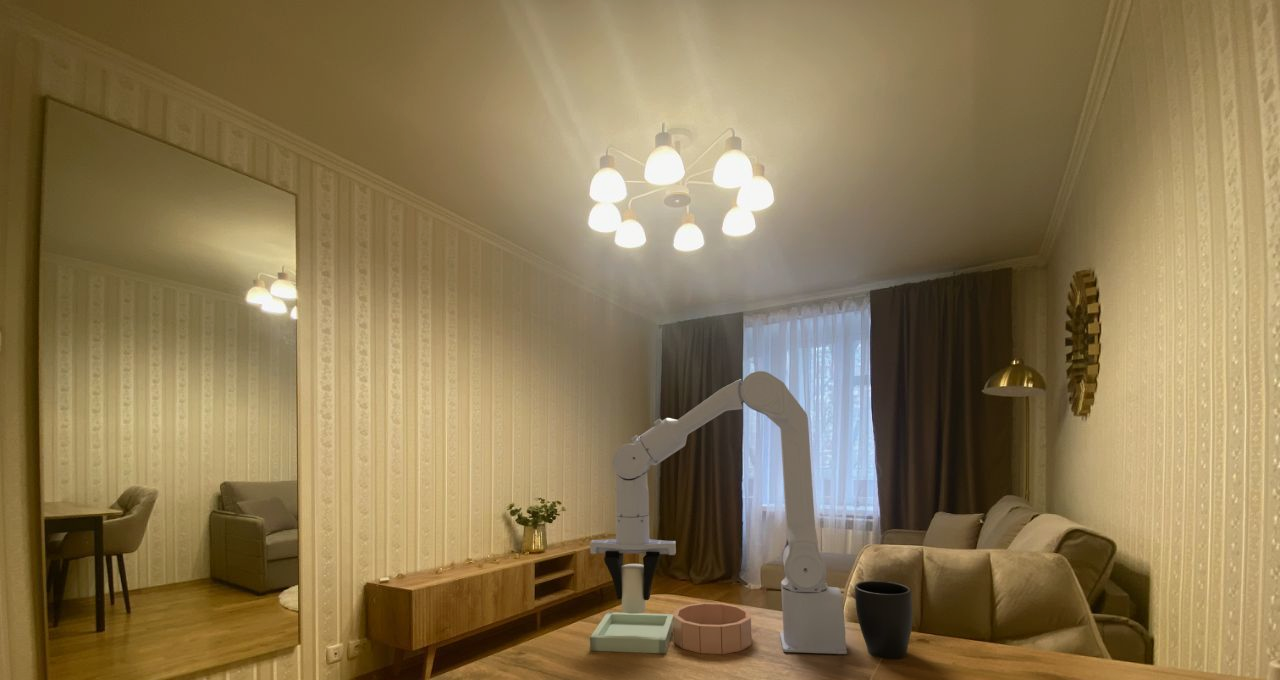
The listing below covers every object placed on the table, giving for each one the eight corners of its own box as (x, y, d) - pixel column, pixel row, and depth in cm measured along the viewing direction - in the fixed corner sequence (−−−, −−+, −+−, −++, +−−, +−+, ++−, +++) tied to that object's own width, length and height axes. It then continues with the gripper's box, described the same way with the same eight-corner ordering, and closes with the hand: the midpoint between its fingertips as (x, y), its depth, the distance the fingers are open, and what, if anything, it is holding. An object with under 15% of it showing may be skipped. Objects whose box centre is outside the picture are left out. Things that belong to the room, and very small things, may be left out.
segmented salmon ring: (750, 628, 105) (749, 603, 105) (752, 655, 92) (751, 627, 93) (678, 625, 107) (677, 601, 107) (670, 652, 94) (669, 624, 95)
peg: (647, 606, 103) (646, 564, 104) (643, 613, 99) (643, 569, 100) (624, 606, 104) (623, 563, 105) (619, 613, 100) (619, 569, 101)
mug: (904, 636, 99) (900, 575, 101) (922, 664, 88) (916, 595, 89) (852, 633, 101) (848, 574, 103) (862, 660, 90) (858, 593, 91)
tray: (674, 626, 106) (673, 614, 107) (665, 653, 94) (665, 639, 94) (607, 623, 108) (607, 612, 109) (590, 650, 96) (590, 637, 96)
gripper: (676, 511, 107) (678, 592, 105) (596, 511, 109) (596, 590, 107) (672, 517, 100) (674, 604, 98) (587, 517, 102) (587, 602, 100)
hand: (633, 598), depth 102 cm, fingers closed on peg, 4 cm apart
